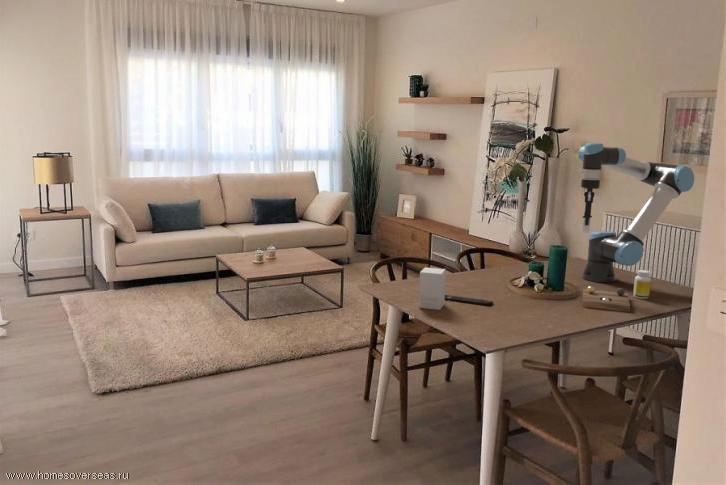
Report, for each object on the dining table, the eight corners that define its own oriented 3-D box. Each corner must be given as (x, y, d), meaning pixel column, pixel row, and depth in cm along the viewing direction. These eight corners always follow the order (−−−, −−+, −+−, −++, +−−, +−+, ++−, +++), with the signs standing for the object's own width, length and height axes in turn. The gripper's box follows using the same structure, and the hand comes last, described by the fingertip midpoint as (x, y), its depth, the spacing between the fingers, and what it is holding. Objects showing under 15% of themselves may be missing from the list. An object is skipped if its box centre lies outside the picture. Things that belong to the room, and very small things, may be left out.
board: (582, 293, 281) (583, 288, 281) (626, 298, 276) (627, 292, 275) (582, 306, 263) (582, 300, 262) (629, 311, 257) (630, 305, 257)
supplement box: (445, 304, 262) (446, 268, 259) (440, 310, 254) (441, 274, 251) (423, 301, 265) (424, 266, 262) (418, 307, 257) (419, 271, 254)
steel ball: (601, 301, 268) (601, 295, 266) (609, 301, 267) (610, 296, 265) (600, 306, 266) (601, 301, 263) (609, 307, 265) (609, 301, 262)
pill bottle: (650, 299, 275) (653, 273, 272) (634, 298, 276) (637, 272, 273) (647, 295, 281) (650, 269, 278) (631, 294, 282) (634, 268, 280)
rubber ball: (616, 293, 273) (616, 286, 273) (624, 294, 272) (625, 287, 272) (616, 295, 270) (617, 288, 270) (624, 296, 269) (625, 289, 269)
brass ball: (586, 292, 275) (587, 284, 275) (594, 292, 274) (595, 285, 274) (586, 293, 272) (587, 286, 272) (594, 294, 271) (595, 287, 271)
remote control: (437, 296, 274) (438, 293, 274) (493, 304, 265) (493, 301, 265) (434, 300, 270) (434, 297, 269) (491, 307, 261) (491, 304, 260)
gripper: (581, 177, 285) (577, 229, 290) (581, 179, 273) (576, 234, 278) (599, 177, 283) (594, 230, 287) (600, 180, 271) (595, 235, 275)
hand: (585, 232), depth 283 cm, fingers closed
